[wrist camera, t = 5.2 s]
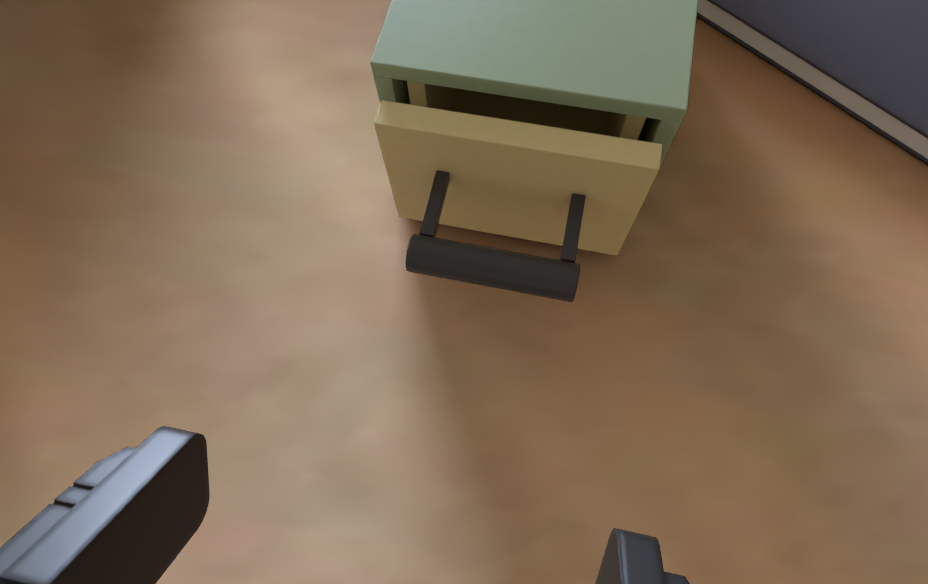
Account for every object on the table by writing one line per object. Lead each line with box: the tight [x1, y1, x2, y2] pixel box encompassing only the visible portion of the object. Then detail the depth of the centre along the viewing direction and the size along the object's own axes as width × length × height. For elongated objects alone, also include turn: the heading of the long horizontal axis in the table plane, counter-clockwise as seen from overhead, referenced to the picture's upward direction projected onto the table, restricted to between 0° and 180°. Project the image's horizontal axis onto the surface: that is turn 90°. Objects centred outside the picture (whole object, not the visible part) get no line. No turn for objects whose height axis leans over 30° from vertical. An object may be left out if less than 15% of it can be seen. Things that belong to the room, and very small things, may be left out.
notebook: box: [697, 0, 928, 164], centre depth 36 cm, size 13×2×21 cm
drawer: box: [374, 81, 662, 302], centre depth 29 cm, size 18×11×8 cm, turn 168°
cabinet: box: [370, 0, 698, 165], centre depth 31 cm, size 15×13×10 cm
